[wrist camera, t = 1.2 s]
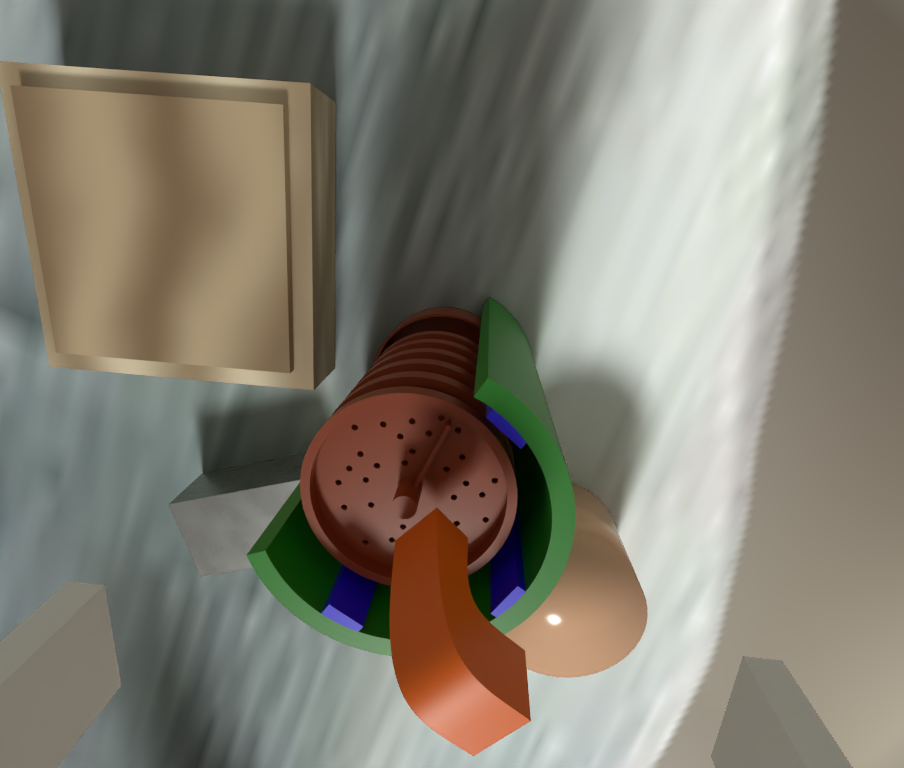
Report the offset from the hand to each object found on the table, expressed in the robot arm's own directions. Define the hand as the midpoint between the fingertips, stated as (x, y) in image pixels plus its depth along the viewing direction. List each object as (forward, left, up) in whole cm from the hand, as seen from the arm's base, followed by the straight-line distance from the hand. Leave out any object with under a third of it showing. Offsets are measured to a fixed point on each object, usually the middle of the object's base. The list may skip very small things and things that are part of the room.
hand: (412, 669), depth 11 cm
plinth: (-14, +7, -20) cm, 26 cm away
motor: (0, 0, -21) cm, 21 cm away
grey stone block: (-11, -9, -21) cm, 25 cm away
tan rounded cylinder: (+7, -10, -21) cm, 24 cm away
